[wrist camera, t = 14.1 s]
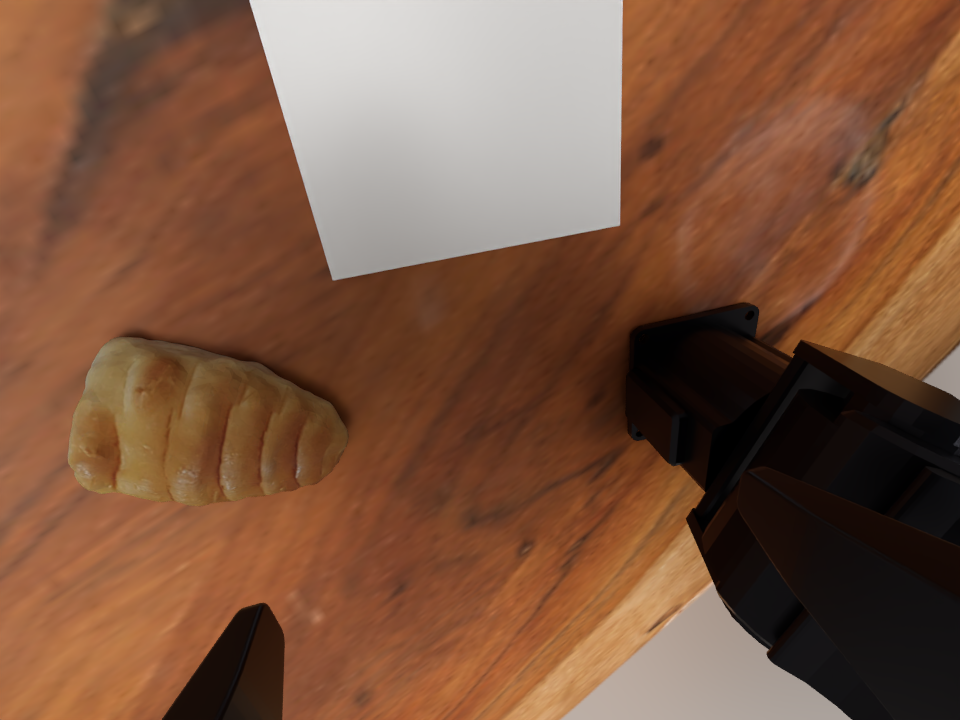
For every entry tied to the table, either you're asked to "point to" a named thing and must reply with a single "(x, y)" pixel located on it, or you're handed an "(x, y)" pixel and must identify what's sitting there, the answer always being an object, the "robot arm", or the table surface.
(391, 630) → the table surface
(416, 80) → the stand
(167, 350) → the pastry
